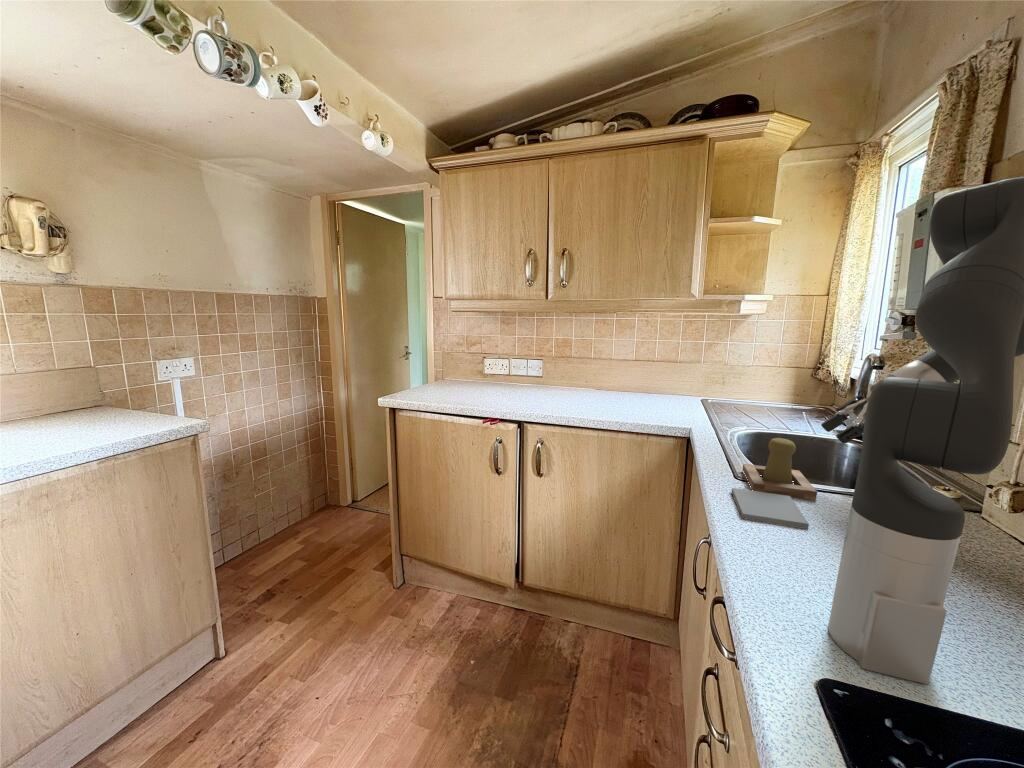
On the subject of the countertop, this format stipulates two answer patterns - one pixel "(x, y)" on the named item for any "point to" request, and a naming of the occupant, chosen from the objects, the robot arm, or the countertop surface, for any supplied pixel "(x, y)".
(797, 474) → the walnut socket
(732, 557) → the countertop surface
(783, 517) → the slate pad
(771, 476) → the cork
